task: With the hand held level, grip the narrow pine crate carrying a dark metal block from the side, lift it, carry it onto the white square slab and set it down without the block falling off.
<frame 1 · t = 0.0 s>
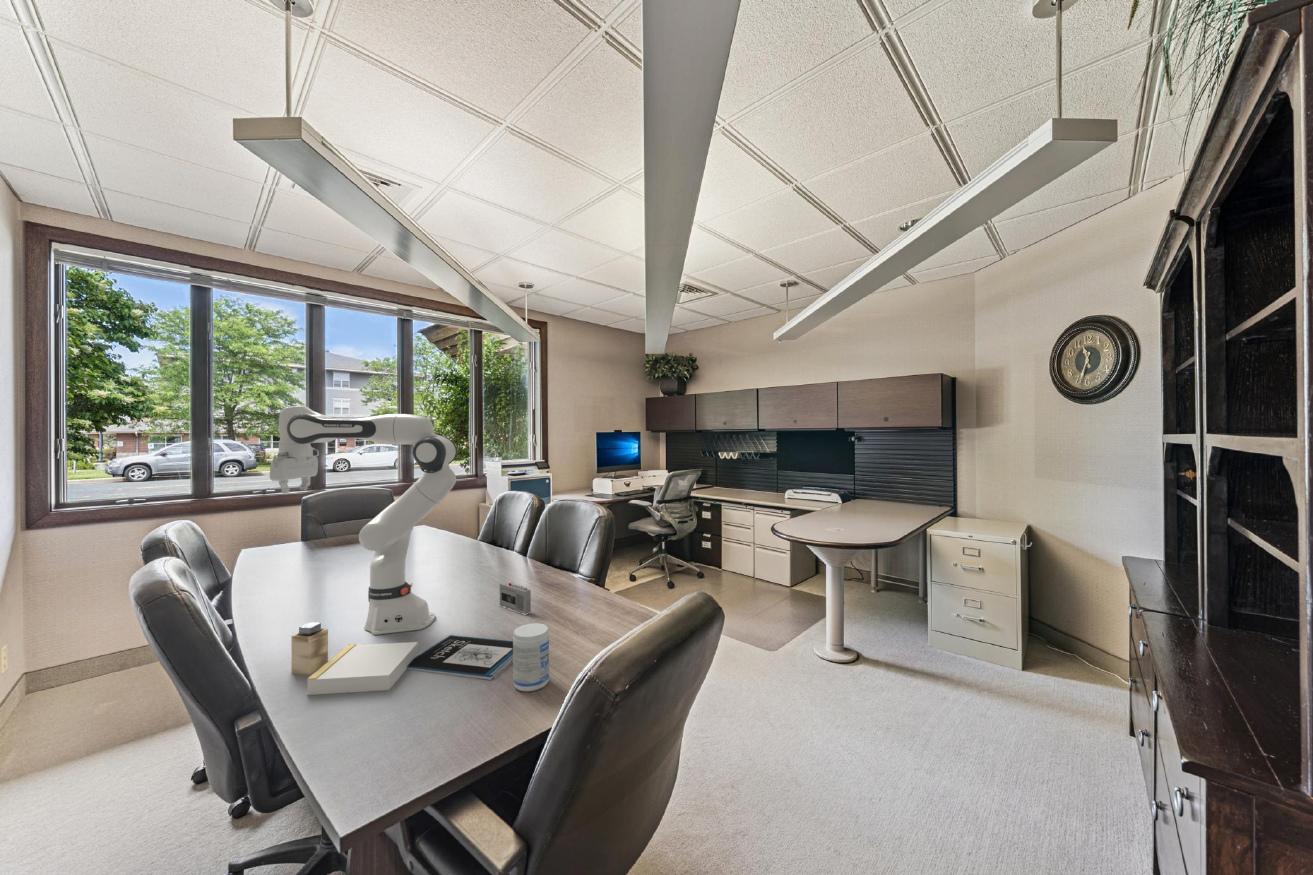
hand: (294, 491, 163), 48 cm above the table, tool pointing down, fingers open, 8 cm apart
supplement tub: (531, 684, 126), on the table
sketchbook: (469, 658, 142), on the table
white square slab: (367, 673, 132), on the table
pine crate: (310, 668, 135), on the table, touching metal block
cassette player: (514, 610, 180), on the table
metal block: (310, 637, 135), point 9 cm above the table, touching pine crate
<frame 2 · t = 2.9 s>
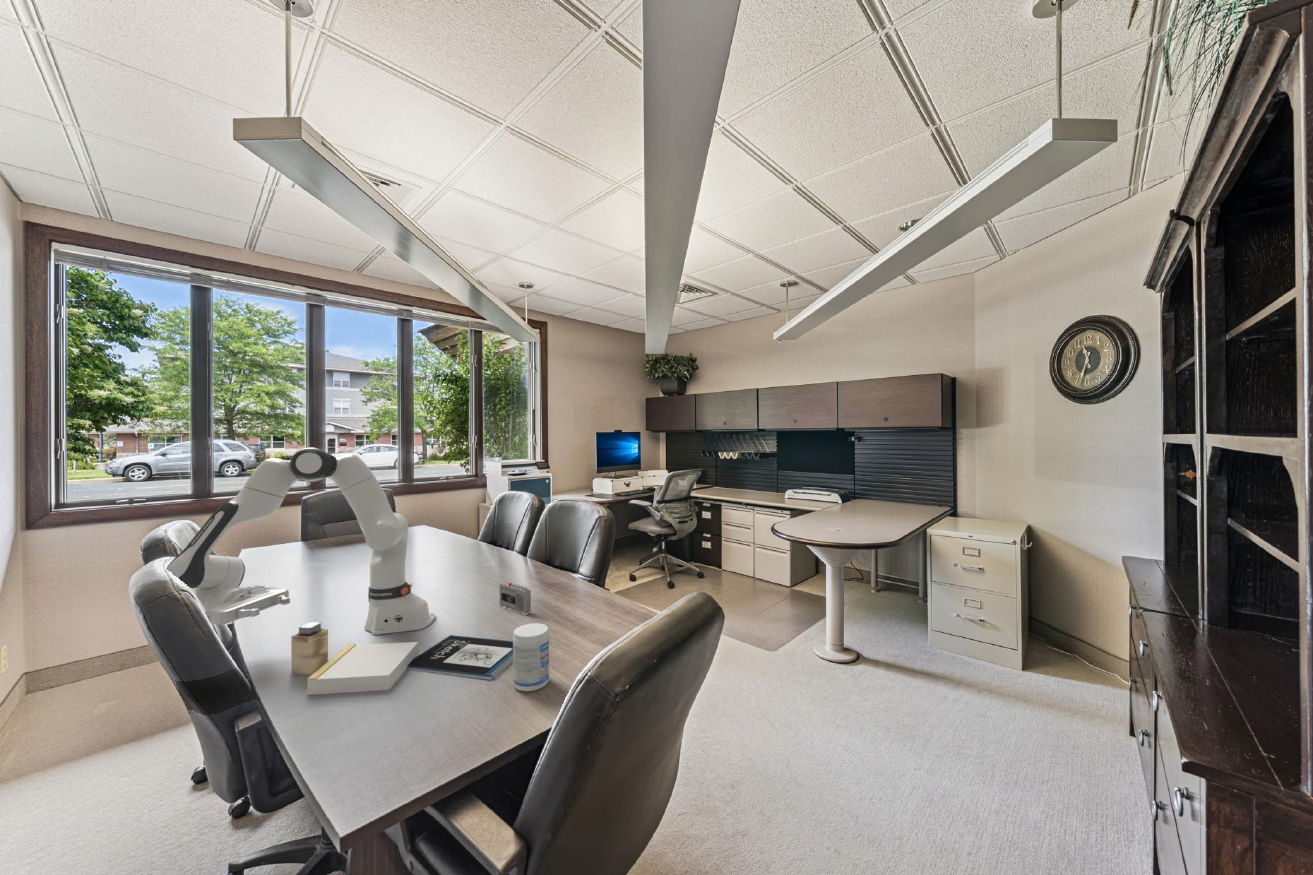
hand: (273, 606, 136), 17 cm above the table, tool horizontal, fingers open, 8 cm apart
nothing on the table moved.
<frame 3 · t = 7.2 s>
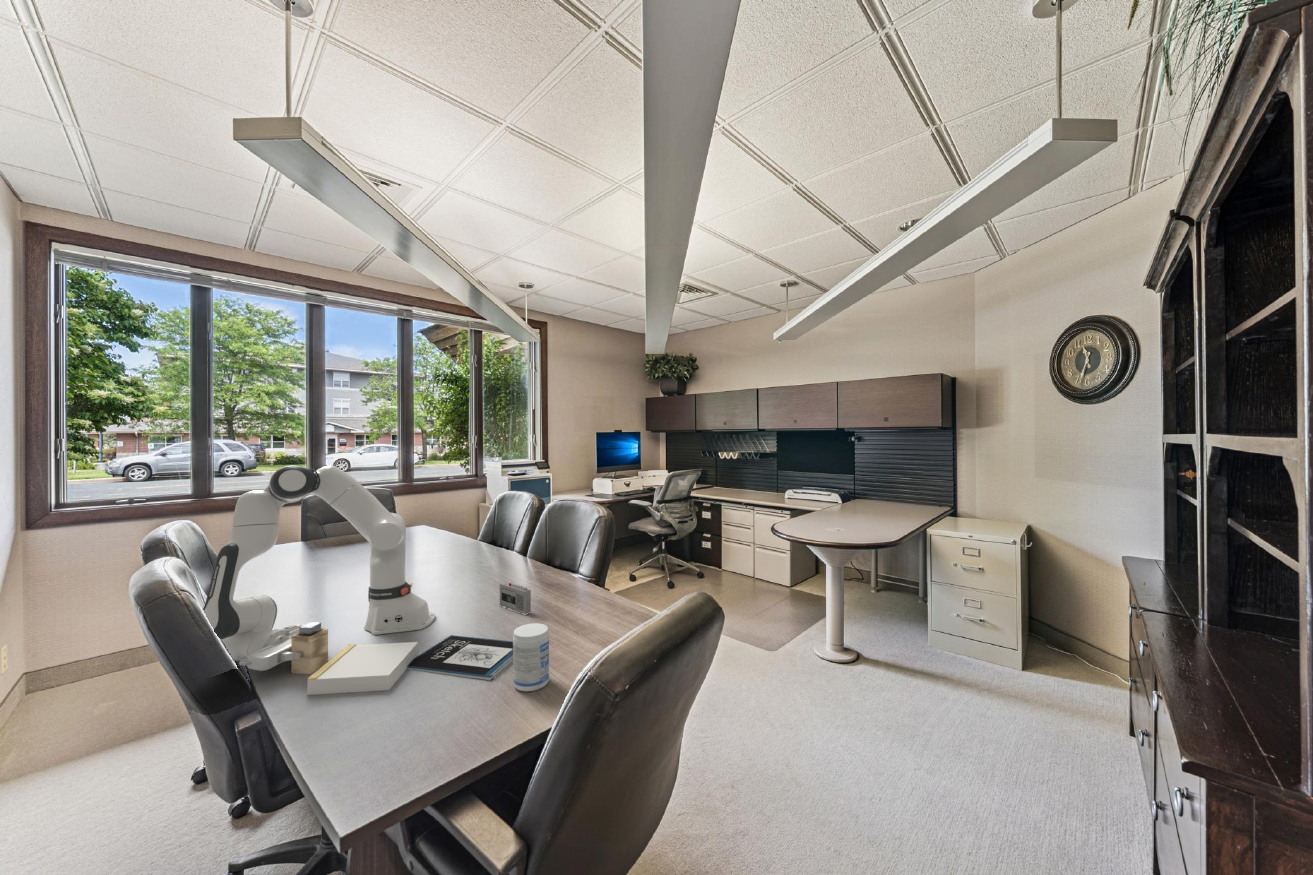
hand: (312, 649, 134), 6 cm above the table, tool horizontal, fingers closed on pine crate, 6 cm apart
pine crate: (310, 668, 135), on the table, touching gripper, metal block
everything else where it was.
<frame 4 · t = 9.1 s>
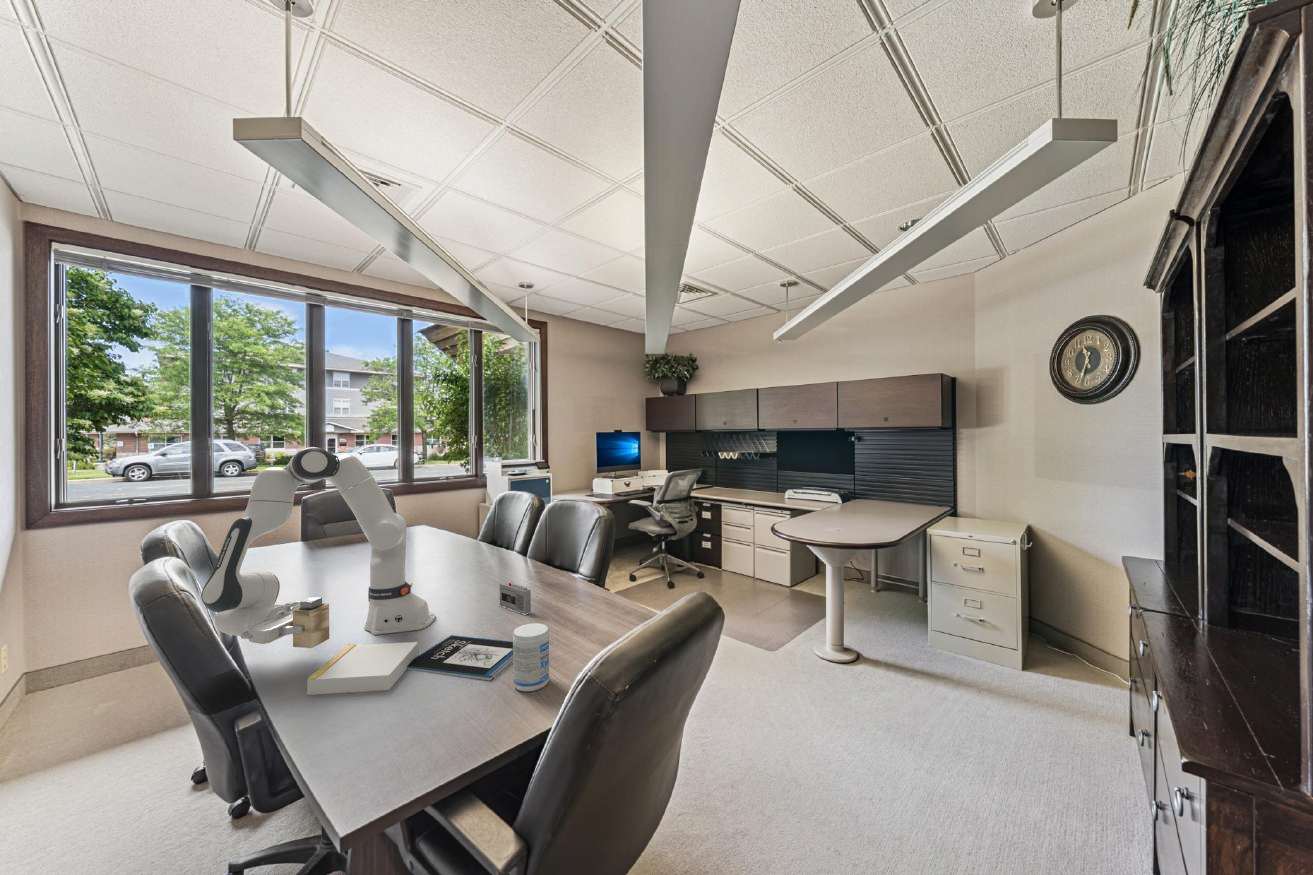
hand: (314, 623, 135), 13 cm above the table, tool horizontal, fingers closed on pine crate, 6 cm apart
pine crate: (311, 642, 135), point 7 cm above the table, touching gripper, metal block
metal block: (311, 611, 135), point 16 cm above the table, touching pine crate
everything else where it was.
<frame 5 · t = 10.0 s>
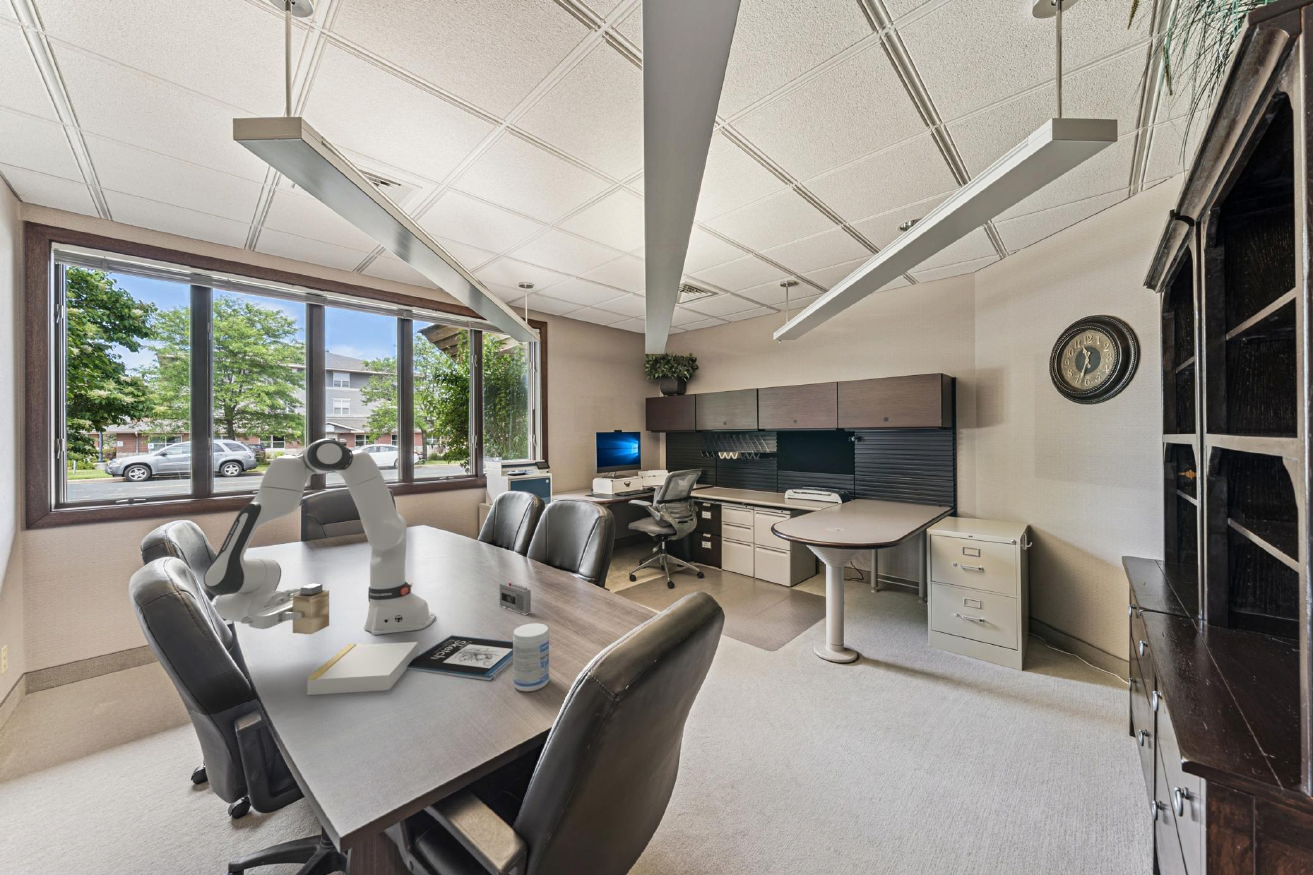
hand: (314, 610, 134), 17 cm above the table, tool horizontal, fingers closed on pine crate, 6 cm apart
pine crate: (311, 629, 135), point 11 cm above the table, touching gripper, metal block
metal block: (311, 598, 135), point 20 cm above the table, touching pine crate
everything else where it was.
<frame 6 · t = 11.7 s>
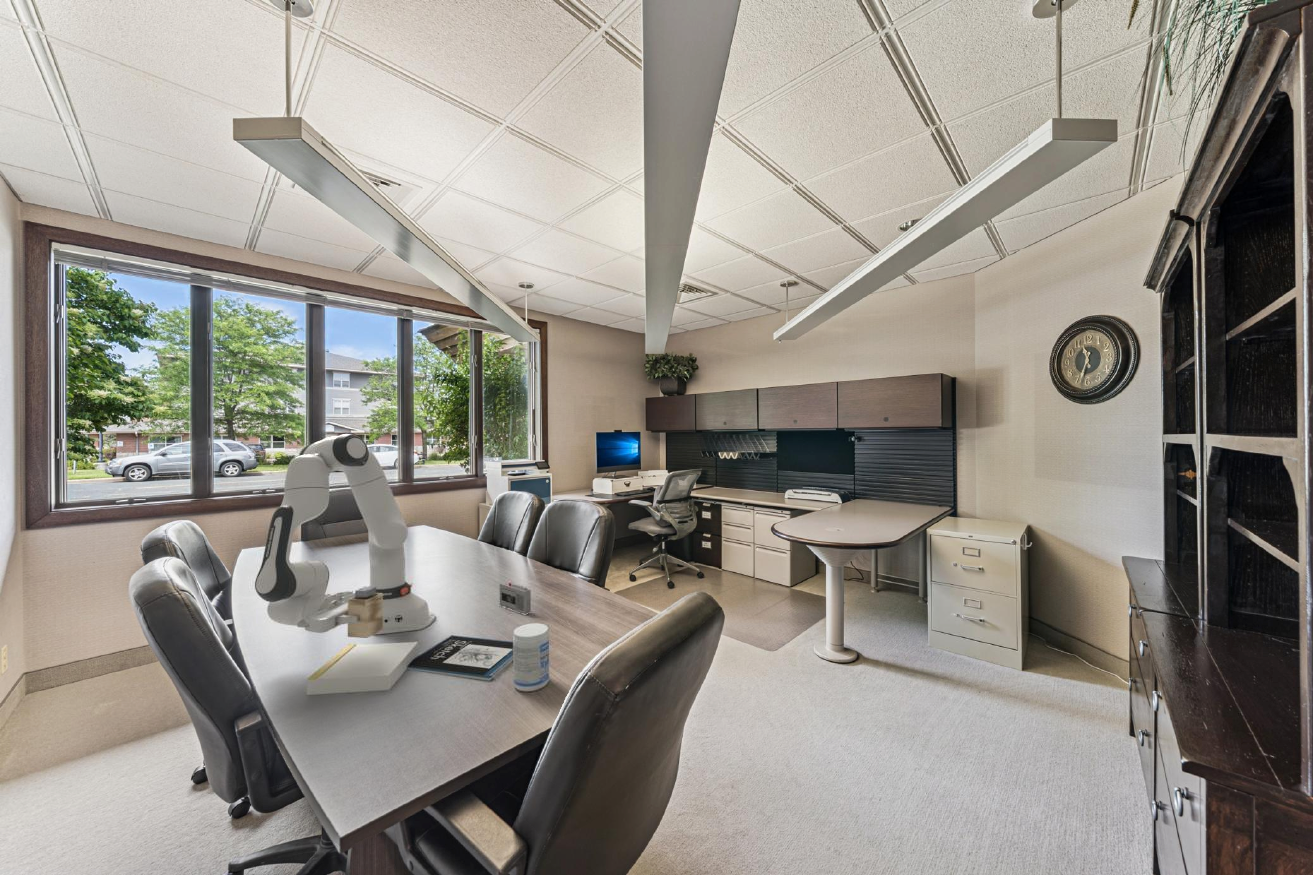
hand: (368, 613, 132), 17 cm above the table, tool horizontal, fingers closed on pine crate, 6 cm apart
pine crate: (365, 632, 132), point 11 cm above the table, touching gripper, metal block
metal block: (365, 601, 132), point 20 cm above the table, touching pine crate
everything else where it was.
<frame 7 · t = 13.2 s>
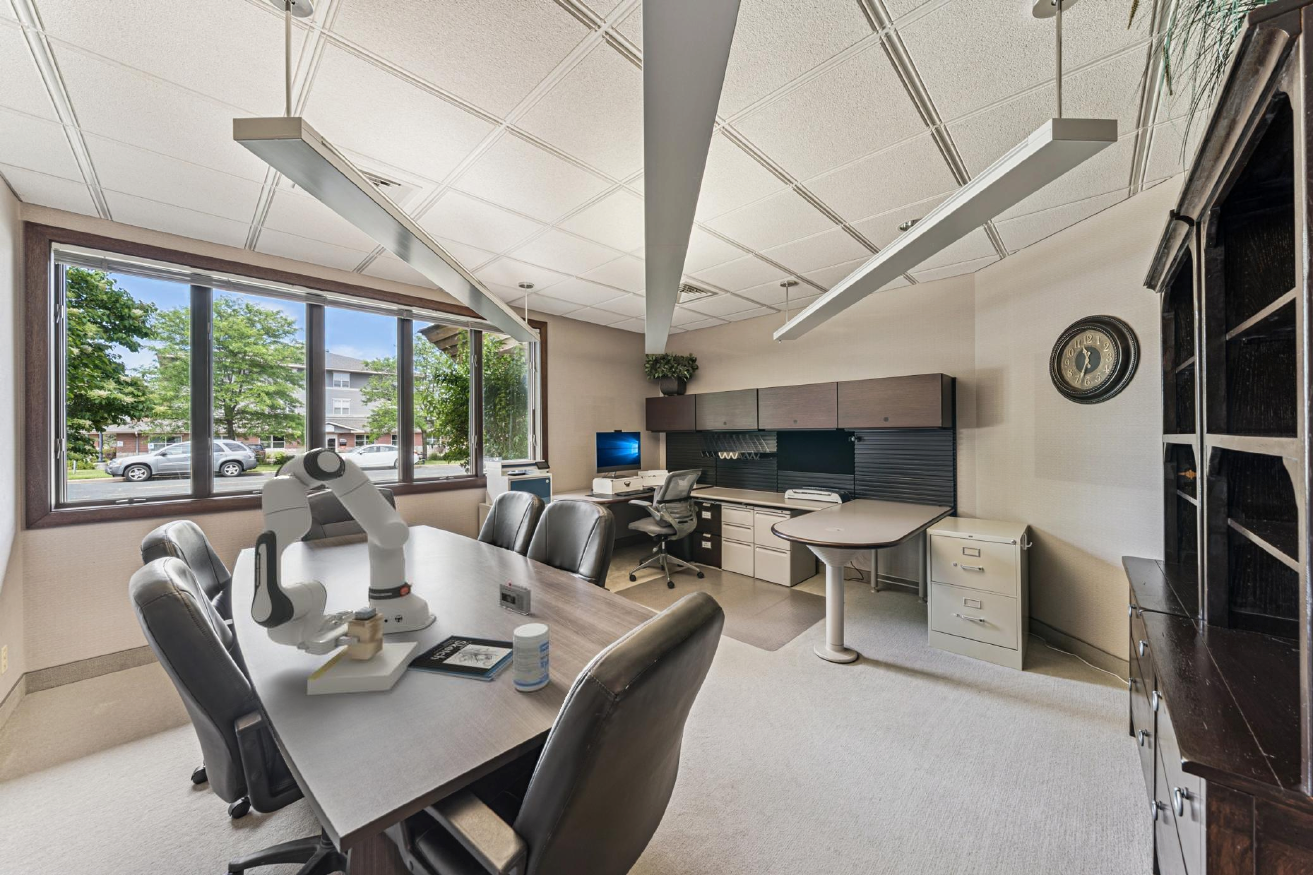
hand: (368, 634, 132), 11 cm above the table, tool horizontal, fingers closed on pine crate, 6 cm apart
pine crate: (365, 653, 132), point 5 cm above the table, touching gripper, metal block
metal block: (365, 622, 132), point 14 cm above the table, touching pine crate
everything else where it was.
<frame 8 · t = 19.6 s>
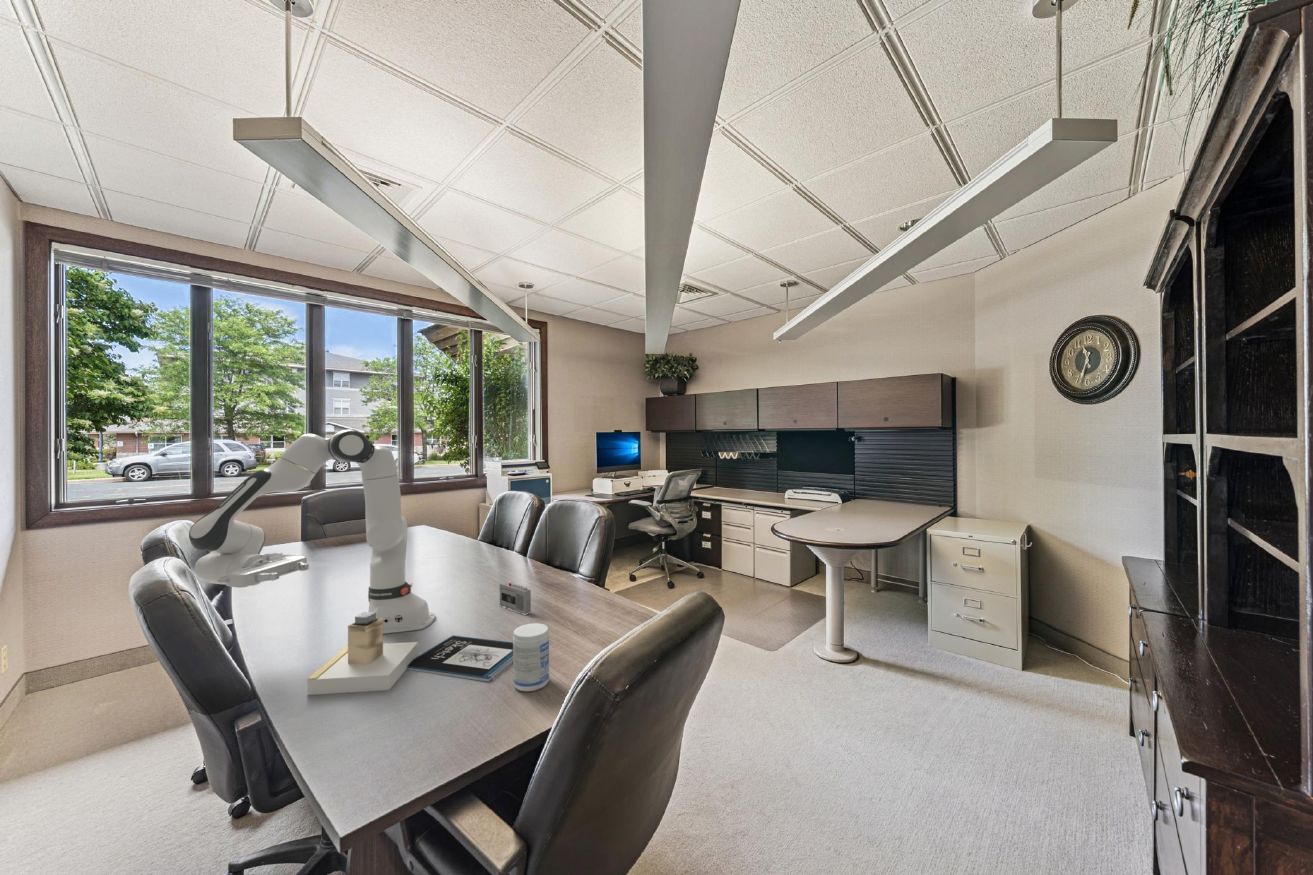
hand: (292, 571, 135), 28 cm above the table, tool horizontal, fingers open, 8 cm apart
pine crate: (365, 658, 132), point 4 cm above the table, touching white square slab, metal block
metal block: (365, 627, 132), point 13 cm above the table, touching pine crate
everything else where it was.
at the end: pine crate inside the target area on the white square slab (0.7 cm from its centre), point 4.0 cm above the white square slab's base; pine crate tilted 0°; metal block 0.0 cm off-centre on the pine crate, point 9.0 cm above the pine crate's base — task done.
